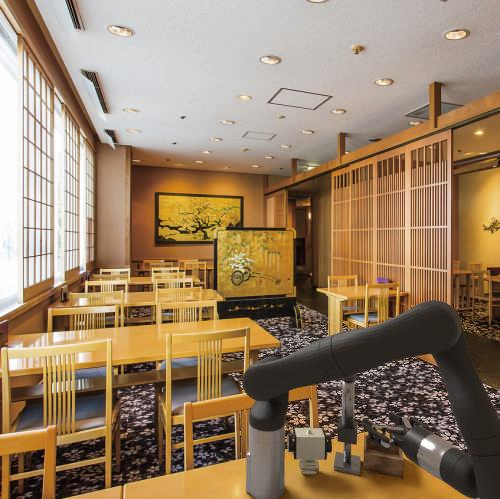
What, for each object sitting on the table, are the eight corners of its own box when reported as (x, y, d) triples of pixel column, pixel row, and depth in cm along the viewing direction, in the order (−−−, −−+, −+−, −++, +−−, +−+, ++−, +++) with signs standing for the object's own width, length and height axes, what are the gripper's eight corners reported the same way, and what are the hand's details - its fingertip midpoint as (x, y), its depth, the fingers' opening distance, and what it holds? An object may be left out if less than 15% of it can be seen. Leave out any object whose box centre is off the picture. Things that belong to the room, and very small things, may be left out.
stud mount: (333, 469, 98) (333, 431, 98) (335, 455, 104) (336, 419, 104) (359, 475, 96) (360, 436, 95) (360, 460, 102) (360, 424, 102)
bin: (363, 470, 98) (363, 452, 97) (364, 450, 107) (364, 434, 107) (403, 478, 94) (403, 460, 94) (400, 457, 104) (400, 440, 104)
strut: (337, 441, 98) (338, 376, 98) (338, 432, 103) (339, 370, 103) (356, 444, 97) (357, 379, 96) (357, 435, 101) (358, 372, 101)
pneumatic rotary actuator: (332, 477, 95) (332, 433, 95) (288, 476, 95) (288, 432, 95) (327, 464, 100) (328, 422, 100) (286, 463, 100) (287, 422, 100)
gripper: (455, 428, 77) (397, 399, 92) (407, 443, 72) (354, 409, 87) (455, 462, 77) (397, 427, 92) (407, 479, 72) (354, 439, 87)
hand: (376, 418), depth 89 cm, fingers open, 8 cm apart
